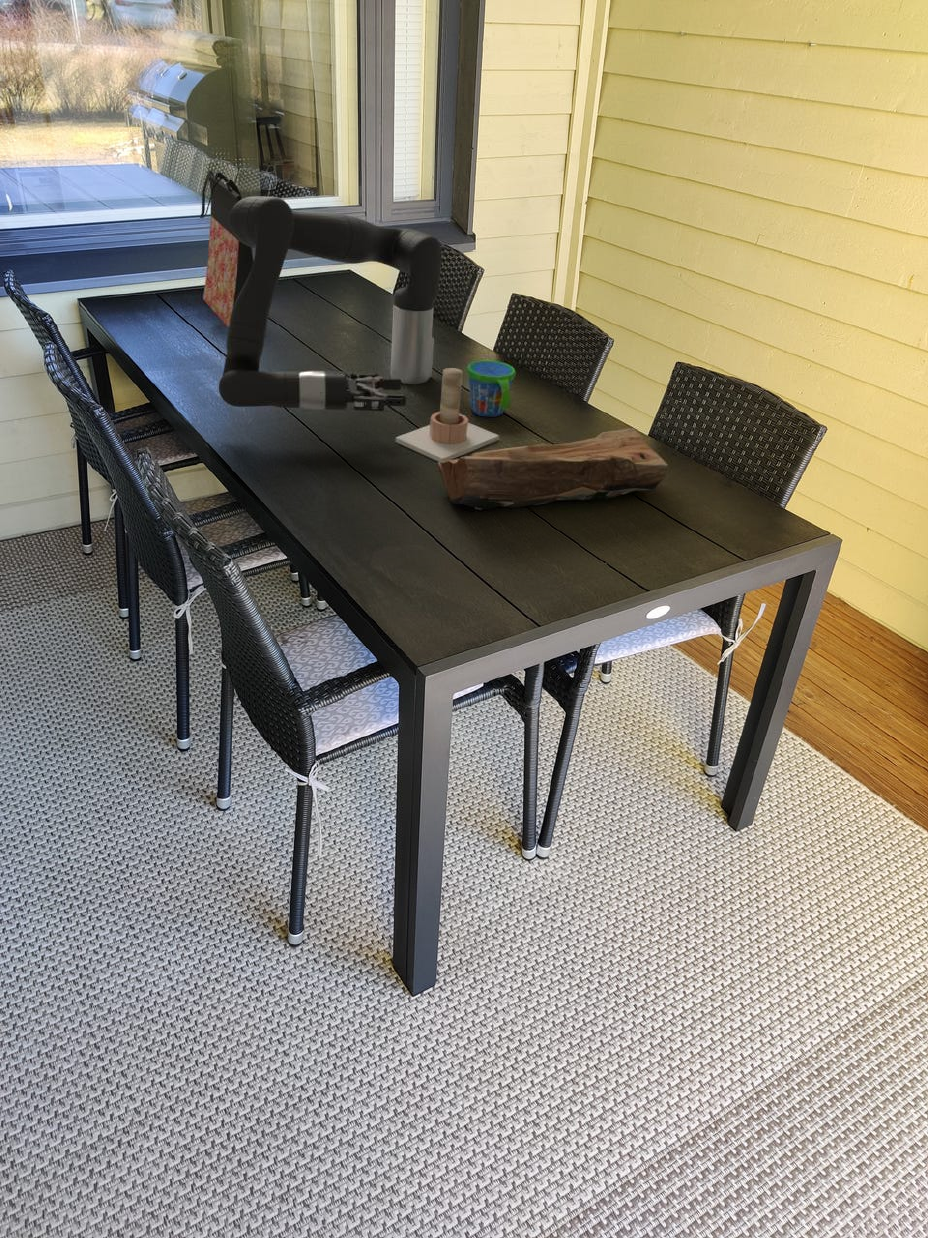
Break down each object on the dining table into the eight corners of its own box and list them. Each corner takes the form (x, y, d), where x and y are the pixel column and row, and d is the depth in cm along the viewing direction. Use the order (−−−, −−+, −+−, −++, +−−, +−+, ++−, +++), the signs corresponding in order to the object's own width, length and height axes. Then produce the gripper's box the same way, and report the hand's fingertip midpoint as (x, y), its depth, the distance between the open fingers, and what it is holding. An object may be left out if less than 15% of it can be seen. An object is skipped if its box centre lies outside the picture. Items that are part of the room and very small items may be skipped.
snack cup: (453, 399, 225) (457, 356, 219) (495, 397, 228) (500, 354, 223) (477, 427, 213) (481, 382, 207) (521, 424, 217) (527, 379, 211)
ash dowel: (442, 431, 207) (447, 366, 200) (460, 435, 206) (465, 370, 199) (435, 437, 204) (439, 372, 197) (452, 441, 203) (458, 376, 195)
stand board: (452, 420, 215) (453, 416, 214) (498, 439, 208) (499, 435, 208) (395, 441, 203) (395, 437, 203) (442, 463, 197) (442, 458, 196)
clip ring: (446, 426, 210) (448, 408, 207) (473, 437, 206) (475, 419, 204) (422, 435, 205) (423, 417, 202) (449, 447, 201) (451, 429, 199)
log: (449, 519, 176) (471, 446, 168) (423, 470, 189) (443, 399, 180) (648, 534, 193) (677, 467, 184) (612, 487, 206) (638, 423, 197)
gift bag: (192, 299, 269) (182, 161, 249) (243, 296, 275) (238, 161, 255) (222, 334, 248) (214, 186, 228) (276, 330, 254) (273, 185, 234)
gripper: (324, 385, 187) (408, 387, 190) (321, 359, 199) (400, 361, 202) (324, 422, 192) (406, 423, 194) (320, 394, 203) (398, 396, 206)
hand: (403, 392), depth 198 cm, fingers open, 8 cm apart
